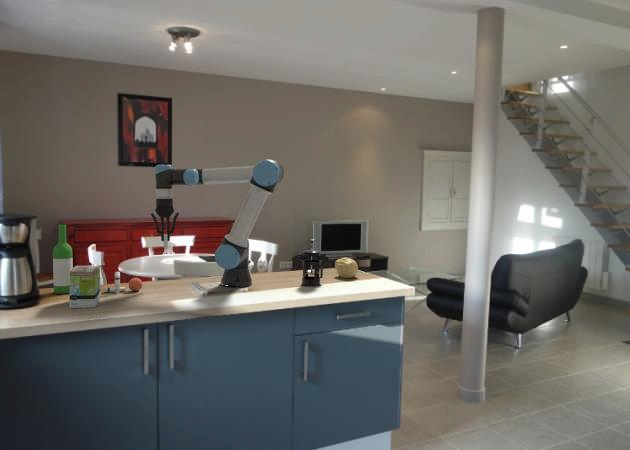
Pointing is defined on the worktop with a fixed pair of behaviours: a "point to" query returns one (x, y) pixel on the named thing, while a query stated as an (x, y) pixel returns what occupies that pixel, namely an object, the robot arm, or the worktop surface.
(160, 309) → the worktop surface
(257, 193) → the robot arm
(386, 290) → the worktop surface
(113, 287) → the front pin
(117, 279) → the pin
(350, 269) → the sculpture
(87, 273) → the tea box
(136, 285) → the ball
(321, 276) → the french press
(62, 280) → the wine bottle
